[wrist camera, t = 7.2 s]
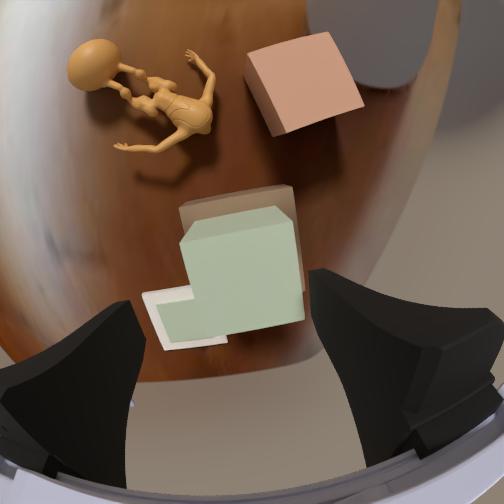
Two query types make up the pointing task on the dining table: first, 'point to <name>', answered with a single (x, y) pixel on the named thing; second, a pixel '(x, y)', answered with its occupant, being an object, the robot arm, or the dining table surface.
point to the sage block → (244, 271)
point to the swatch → (178, 319)
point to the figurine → (176, 107)
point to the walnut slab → (244, 209)
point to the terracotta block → (300, 82)
